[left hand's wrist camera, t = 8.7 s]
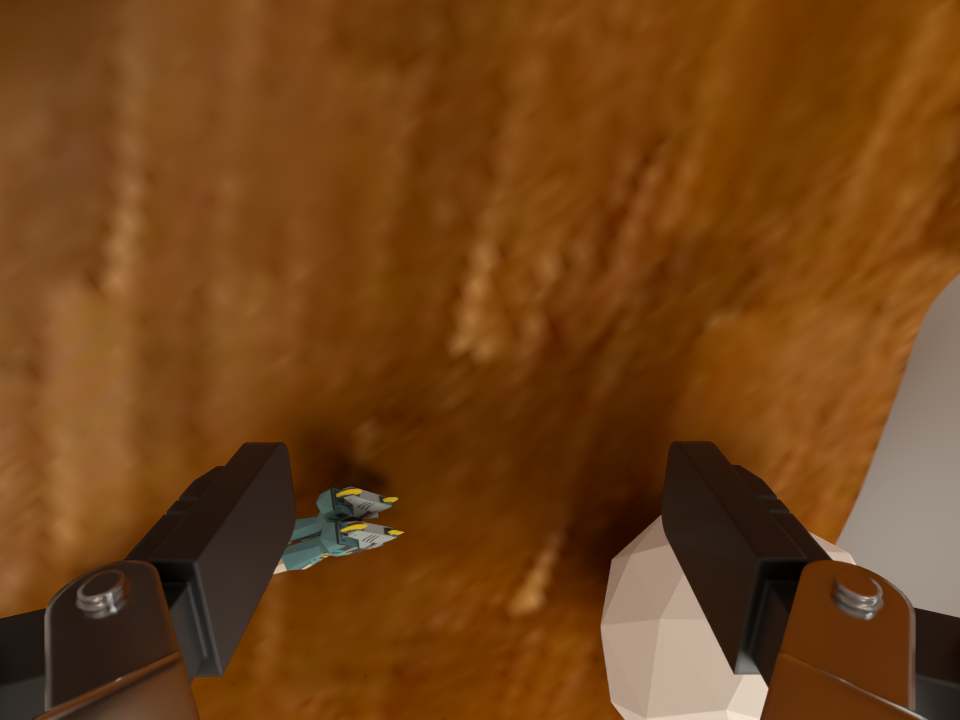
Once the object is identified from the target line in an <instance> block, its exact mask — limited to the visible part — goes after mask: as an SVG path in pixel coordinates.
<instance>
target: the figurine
mask: <svg viewBox="0 0 960 720" xmlns="http://www.w3.org/2000/svg"><path fill="white" fill-rule="evenodd" d="M397 499H398V498H396V497H384V496H381V495H378V494H375V493H371V492H368V491H365V490H361V489H358V488H355V487H352V486H351V487H348V488H344V489H342V490H339V489H335V488H331V489H329V490H327V491H325V492H323V493H322V494H320V496H319V498H318V500H317V503H316V504H317V506H318V508H319V510H320V512H319V514H318V516H317V517H311V518H304V519H297V520H296V521H295V527H294V531H293V534H292V537H291V539H290V541H289V543H288V544H290V543H292V542H296V541H304V540H307V539H310V538H313V537H317V536H320V535H321V536H320V537H317V538H314V539H311V540H308V541H304V542H301V543H298V544H295V545H292V546H289V547H286V549H285V551H284V553H283V555H282V557H281V559H280V561H279V563H278V565H277V567H276V569H275V571H274V573H273V574H276V573H280V572H283V571H287V570H297V569H306V568H308V567H310V566H312V565H313V564H315V563H317V562H319V561H320V560H322V559H324V558H326V557H328V556H329V555H333V556H342V555H348V554H353V553H359V552H362V551H364V550H367V549H370V548H374V547H379V546H383V543H384V542H387V541H389V540H392V539H394V538H397V535H399V534H401V533H404V532H402V531H399V530H396V529H395V528H391V527H386V526H380V525H375V524H370V523H365V522H360V521H362V520H363V519H368V518H378V512H380V511H383V510H385V509H387V508H390V507H392V506H391V503H393V502H395V501H396V500H397Z"/></svg>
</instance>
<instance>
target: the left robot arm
mask: <svg viewBox="0 0 960 720" xmlns="http://www.w3.org/2000/svg"><path fill="white" fill-rule="evenodd" d="M179 498H180V499H179V501H176V502H175V503H174V504H173V505H172V506H171V508H170V509H169V510H168V511H167V515H163V517H162V518H161V519H160V520H159V521H158V522H157V523H156V524H155V526H154V527H153V528H152V529H151V530H150V531H149V532H148V533H147V535H146V536H145V537H144V538H143V539H142V540H141V541H140V542H139V544H138V545H137V546H136V547H135V548H134V549H133V550H132V551H131V553H130V554H129V555H128V556H127V557H126V558H125V559H124V560H123V561H118V562H114V563H110V564H106V565H103V566H100V567H98V568H95V569H93V570H90V571H88V572H86V573H84V574H82V575H81V576H79V577H77V578H76V579H74V580H72V581H71V582H70V583H68V584H67V585H65V586H64V587H63V588H62V589H61V590H60V591H58V593H57V594H56V595H55V596H54V597H53V598H52V599H51V601H50V602H49V604H48V606H47V608H45V609H41V610H37V611H32V612H28V613H23V614H19V615H14V616H10V617H6V618H1V619H0V720H200V717H199V714H198V710H197V706H196V703H195V699H194V696H193V692H192V689H191V683H192V681H193V679H194V677H222V676H223V674H224V672H225V670H226V668H227V666H228V664H229V662H230V660H231V658H232V656H233V654H234V652H235V650H236V647H237V645H238V643H239V641H240V639H241V637H242V635H243V633H244V631H245V629H246V627H247V625H248V623H249V621H250V619H251V617H252V615H253V613H254V611H255V609H256V607H257V605H258V603H259V601H260V599H261V597H262V595H263V593H264V591H265V589H266V587H267V585H268V583H269V581H270V579H271V577H272V575H273V573H274V571H275V569H276V567H277V565H278V563H279V561H280V559H281V557H282V555H283V553H284V551H285V549H286V547H287V545H288V543H289V541H290V539H291V537H292V534H293V531H294V527H295V521H296V503H295V496H294V489H293V482H292V475H291V468H290V461H289V454H288V450H287V447H286V445H285V444H284V443H282V442H247V443H244V444H243V445H242V446H241V447H240V449H239V450H238V451H237V452H236V453H235V455H234V456H233V457H232V458H231V459H230V461H229V462H228V463H227V464H226V465H225V466H217V467H215V468H214V469H212V470H211V471H209V472H207V473H206V474H204V475H203V476H201V477H199V478H198V479H196V480H195V481H194V482H193V483H192V484H191V485H190V486H189V487H188V488H187V489H186V491H185V492H184V493H183V494H182V495H181V496H180V497H179ZM661 518H662V525H663V529H664V533H665V535H666V538H667V540H668V542H669V544H670V546H671V548H672V550H673V552H674V554H675V556H676V558H677V560H678V562H679V564H680V566H681V568H682V570H683V572H684V574H685V576H686V578H687V580H688V582H689V584H690V586H691V589H692V591H693V593H694V595H695V597H696V599H697V601H698V603H699V605H700V607H701V609H702V611H703V613H704V615H705V617H706V619H707V621H708V623H709V625H710V627H711V629H712V631H713V633H714V635H715V637H716V639H717V641H718V643H719V645H720V647H721V649H722V651H723V653H724V656H725V658H726V660H727V662H728V664H729V666H730V668H731V670H732V672H733V674H734V675H761V676H762V678H763V680H764V681H765V683H766V685H767V687H768V692H767V696H766V699H765V703H764V706H763V710H762V714H761V717H760V720H960V618H958V617H954V616H949V615H945V614H940V613H936V612H931V611H927V610H922V609H918V608H914V607H913V606H912V604H911V602H910V601H909V599H908V598H907V597H906V596H905V595H904V594H903V593H902V591H900V590H899V589H898V588H897V587H896V586H895V585H893V584H892V583H890V582H889V581H888V580H886V579H884V578H883V577H881V576H879V575H878V574H876V573H874V572H872V571H870V570H867V569H865V568H862V567H860V566H857V565H854V564H850V563H846V562H842V561H835V560H832V558H831V557H830V556H829V555H828V554H827V553H826V552H825V550H824V549H823V548H822V547H821V546H820V545H819V544H818V542H817V541H816V540H815V539H814V538H813V537H812V536H811V535H810V533H809V532H808V531H807V530H806V529H805V528H804V527H803V525H802V524H801V523H800V522H799V521H798V520H797V519H796V517H795V516H794V515H793V514H789V510H788V508H787V507H786V506H785V505H784V504H783V503H782V502H781V500H777V496H776V495H775V494H774V492H773V491H772V490H771V489H770V488H769V487H768V486H767V485H766V483H765V482H764V481H763V480H762V479H760V478H759V477H757V476H756V475H754V474H752V473H751V472H749V471H748V470H746V469H744V468H743V467H741V466H740V465H731V464H730V463H729V461H728V460H727V459H726V458H725V456H724V455H723V454H722V453H721V452H720V450H719V449H718V448H717V447H716V446H715V444H714V443H712V442H709V441H675V442H673V443H672V444H671V446H670V449H669V454H668V461H667V468H666V475H665V482H664V489H663V497H662V504H661Z"/></svg>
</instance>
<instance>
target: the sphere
mask: <svg viewBox="0 0 960 720" xmlns="http://www.w3.org/2000/svg"><path fill="white" fill-rule="evenodd" d="M809 533H810V532H809ZM810 535H811V536H812V537H813V538H814V539H815V540H816V541H817V542H818V544H819V545H820V546H821V547H822V548H823V549H824V550H825V552H826V553H827V554H828V555H829V556H830V557H831V558H832V560H835V561H842V562H846V563H850V564H854V565H856V564H855V562H854V560H853V559H852V557H851V555H850V554H849V553H848V552H846V551H844V550H842V549H840V548H839V547H837V546H835V545H833V544H831V543H829V542H827V541H825V540H823V539H821V538H820V537H818V536H816V535H814V534H812V533H810ZM601 637H602V643H603V650H604V657H605V664H606V670H607V677H608V684H609V691H610V697H611V702H612V704H613V705H614V706H615V707H616V709H617V710H618V711H619V713H620V714H621V715H622V717H623V718H624V719H625V720H760V717H761V714H762V710H763V706H764V703H765V699H766V696H767V692H768V687H767V685H766V683H765V681H764V680H763V678H762V676H761V675H734V674H733V672H732V670H731V668H730V666H729V664H728V662H727V660H726V658H725V656H724V653H723V651H722V649H721V647H720V645H719V643H718V641H717V639H716V637H715V635H714V633H713V631H712V629H711V627H710V625H709V623H708V621H707V619H706V617H705V615H704V613H703V611H702V609H701V607H700V605H699V603H698V601H697V599H696V597H695V595H694V593H693V591H692V589H691V586H690V584H689V582H688V580H687V578H686V576H685V574H684V572H683V570H682V568H681V566H680V564H679V562H678V560H677V558H676V556H675V554H674V552H673V550H672V548H671V546H670V544H669V542H668V540H667V538H666V535H665V533H664V529H663V525H662V518H661V515H660V516H659V517H658V518H657V519H656V520H655V521H654V522H653V523H651V524H650V525H649V526H648V527H647V528H646V529H645V530H644V531H643V532H642V533H641V534H639V535H638V536H637V537H636V538H635V539H634V540H633V541H632V542H631V543H630V544H629V545H627V546H626V547H625V548H624V549H623V550H622V551H621V552H620V553H619V554H618V555H617V556H615V557H614V558H613V559H612V562H611V568H610V574H609V580H608V585H607V591H606V597H605V603H604V609H603V615H602V621H601Z"/></svg>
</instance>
